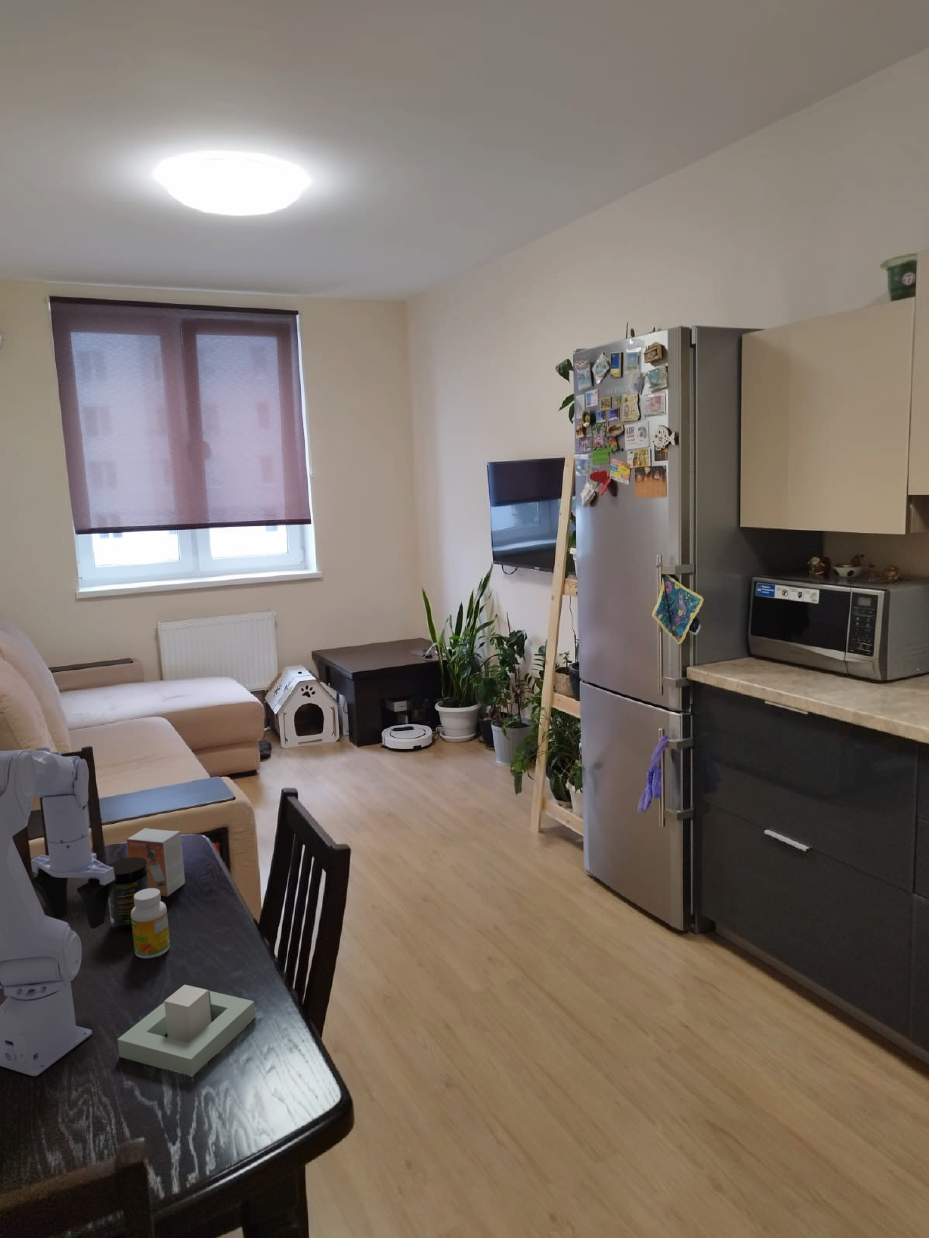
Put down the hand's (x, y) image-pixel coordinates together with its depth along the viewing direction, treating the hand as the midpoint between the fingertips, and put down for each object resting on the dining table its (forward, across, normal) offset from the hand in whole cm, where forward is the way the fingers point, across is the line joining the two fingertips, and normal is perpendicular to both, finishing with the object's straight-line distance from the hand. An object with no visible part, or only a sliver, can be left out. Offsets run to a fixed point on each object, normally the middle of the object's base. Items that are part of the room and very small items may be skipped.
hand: (78, 921), depth 131 cm
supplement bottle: (+10, -4, -10) cm, 14 cm away
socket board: (+9, -25, +6) cm, 27 cm away
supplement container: (+10, +6, -16) cm, 20 cm away
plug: (+9, -25, +6) cm, 27 cm away
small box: (+10, +11, -28) cm, 32 cm away
